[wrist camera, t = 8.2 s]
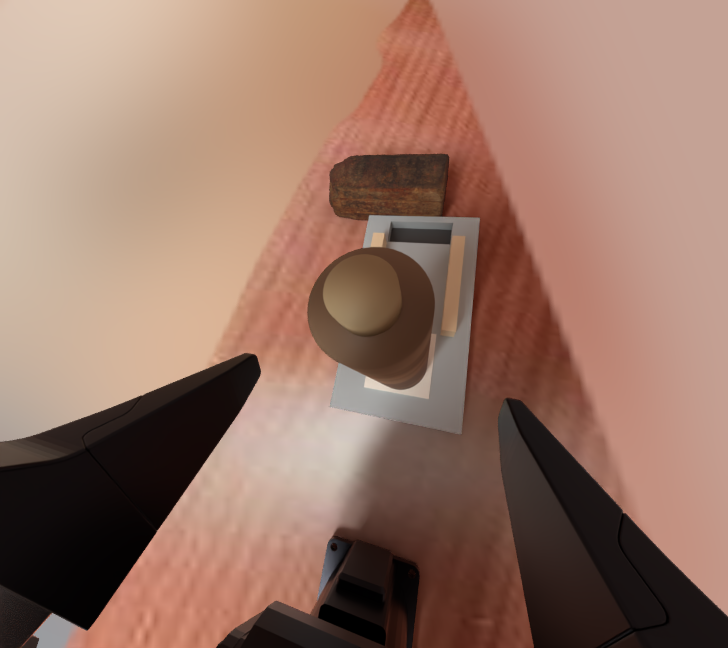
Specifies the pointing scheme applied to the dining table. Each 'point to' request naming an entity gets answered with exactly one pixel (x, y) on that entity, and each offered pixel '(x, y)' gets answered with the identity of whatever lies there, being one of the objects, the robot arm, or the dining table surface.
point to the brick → (389, 185)
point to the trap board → (449, 331)
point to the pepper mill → (375, 315)
